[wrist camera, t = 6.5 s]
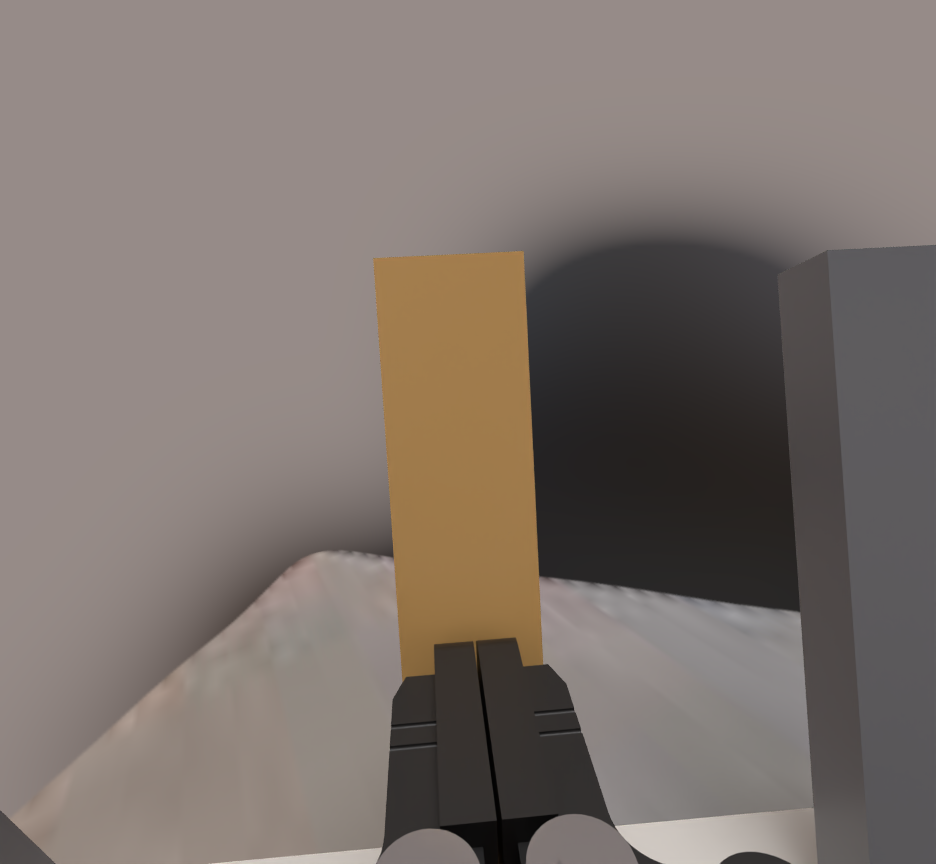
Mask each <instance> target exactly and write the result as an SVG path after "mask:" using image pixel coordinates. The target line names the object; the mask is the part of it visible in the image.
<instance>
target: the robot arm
mask: <svg viewBox="0 0 936 864" xmlns="http://www.w3.org/2000/svg"><path fill="white" fill-rule="evenodd" d="M476 654H477V665H476V657H475V650H474V643H473V641H467V642H455V643H443V644H434V665H435V674H433V675H422V676H410V677H406V678H405V679H404V681H403V683H402V685H401V686H400V688H399V690H398V691H397V693H396V695H395V697H394V698H393V704H392V720H391V737H390V753H389V770H388V786H387V803H386V819H385V836H384V843H383V847H382V850H381V854H380V856H379V858H378V860H377V863H376V864H663V863H660V862H658V861H655V860H653V859H651V858H649V857H647V856H646V855H644V854H642V853H641V852H639V851H638V850H637V849H635V848H634V847H633V846H631V845H630V844H629V843H628V842H627V841H626V840H625V839H624V837H623V836H622V835H621V834H620V833H619V832H618V830H617V829H616V827H615V825H614V824H613V822H612V820H611V818H610V815H609V813H608V810H607V807H606V804H605V801H604V798H603V795H602V792H601V789H600V786H599V783H598V780H597V777H596V774H595V770H594V767H593V764H592V761H591V758H590V755H589V752H588V749H587V746H586V743H585V740H584V737H583V734H582V733H581V728H580V725H579V722H578V718H577V715H576V713H575V712H574V706H573V703H572V700H571V697H570V694H569V691H568V688H567V685H566V683H565V682H564V681H563V680H562V679H561V678H560V677H559V676H558V675H557V673H556V672H555V671H554V670H553V669H552V668H551V667H550V666H549V665H548V664H546V665H534V666H523V664H522V659H521V655H520V651H519V647H518V643H517V639H516V637H512V638H501V639H489V640H477V641H476ZM720 864H791V863H789V862H787V861H785V860H783V859H781V858H778V857H776V856H773V855H769V854H766V853H760V852H741V853H736V854H734V855H731V856H729V857H727V858H726V859H724V860H723V861H722V862H721V863H720Z"/></svg>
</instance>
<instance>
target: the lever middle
mask: <svg viewBox="0 0 936 864" xmlns="http://www.w3.org/2000/svg"><path fill="white" fill-rule="evenodd" d="M373 259H374V275H375V289H376V304H377V318H378V333H379V348H380V362H381V376H382V391H383V406H384V419H385V434H386V447H387V448H386V449H387V463H388V478H389V492H390V507H391V521H392V536H393V550H394V565H395V579H396V594H397V608H398V623H399V637H400V652H401V666H402V681H404V679H405V678H406V677H410V676H422V675H433V674H435V665H434V644H443V643H455V642H467V641H473V643H474V650H475V657H476V665H477V654H476V641H477V640H489V639H501V638H512V637H516V639H517V643H518V647H519V651H520V655H521V659H522V664H523V666H534V665H543V653H542V632H541V611H540V590H539V568H538V547H537V526H536V506H535V484H534V463H533V442H532V422H531V400H530V379H529V361H528V360H529V359H528V336H527V316H526V294H525V273H524V252H523V251H517V252H498V253H497V252H496V253H474V254H455V255H454V254H453V255H434V256H433V255H432V256H411V257H389V258H373Z"/></svg>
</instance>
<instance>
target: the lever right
mask: <svg viewBox="0 0 936 864" xmlns="http://www.w3.org/2000/svg"><path fill="white" fill-rule="evenodd" d="M778 289H779V303H780V319H781V333H782V347H783V363H784V375H785V391H786V406H787V421H788V435H789V449H790V450H789V451H790V465H791V480H792V493H793V494H792V495H793V508H794V524H795V538H796V552H797V568H798V582H799V596H800V612H801V627H802V641H803V656H804V671H805V685H806V700H807V715H808V729H809V744H810V759H811V773H812V788H813V803H814V817H815V832H816V847H817V861H818V864H936V245H928V246H907V247H886V248H865V249H844V250H827V251H825V252H823V253H821V254H819V255H817V256H815V257H813V258H811V259H809V260H807V261H805V262H803V263H801V264H799V265H796V266H795V267H792V268H790V269H788V270H786V271H784V272H782V273H780V274H778Z"/></svg>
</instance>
